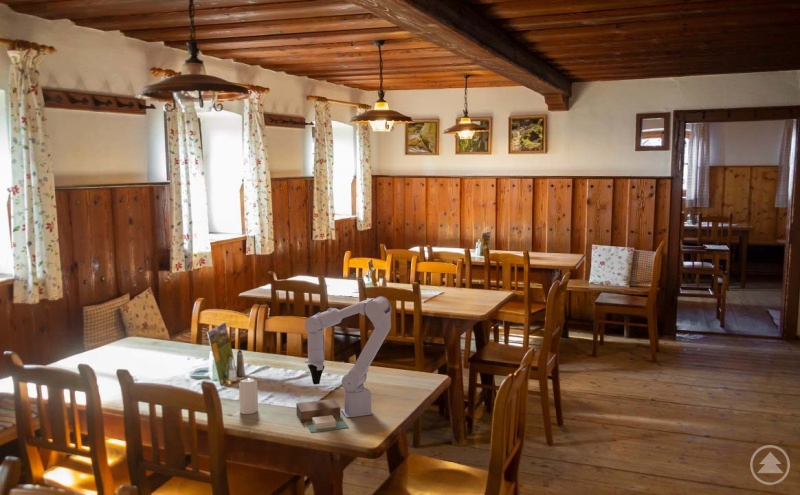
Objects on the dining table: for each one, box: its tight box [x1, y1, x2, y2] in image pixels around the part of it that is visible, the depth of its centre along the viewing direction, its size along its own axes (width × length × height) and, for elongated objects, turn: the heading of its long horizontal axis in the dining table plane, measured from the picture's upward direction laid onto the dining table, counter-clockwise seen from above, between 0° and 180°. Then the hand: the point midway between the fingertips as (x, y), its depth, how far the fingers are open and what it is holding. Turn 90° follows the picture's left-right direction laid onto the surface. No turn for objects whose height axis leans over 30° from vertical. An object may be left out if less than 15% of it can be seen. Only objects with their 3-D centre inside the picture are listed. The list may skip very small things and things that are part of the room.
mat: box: [305, 416, 350, 434], centre depth 231 cm, size 13×10×1 cm
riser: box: [295, 398, 341, 424], centre depth 239 cm, size 14×9×4 cm, turn 109°
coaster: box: [312, 415, 336, 429], centre depth 230 cm, size 7×6×2 cm
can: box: [238, 376, 259, 416], centre depth 243 cm, size 6×6×12 cm
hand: (316, 383), depth 246 cm, fingers closed
